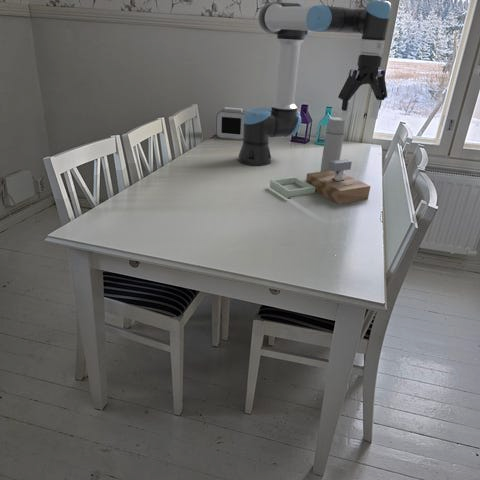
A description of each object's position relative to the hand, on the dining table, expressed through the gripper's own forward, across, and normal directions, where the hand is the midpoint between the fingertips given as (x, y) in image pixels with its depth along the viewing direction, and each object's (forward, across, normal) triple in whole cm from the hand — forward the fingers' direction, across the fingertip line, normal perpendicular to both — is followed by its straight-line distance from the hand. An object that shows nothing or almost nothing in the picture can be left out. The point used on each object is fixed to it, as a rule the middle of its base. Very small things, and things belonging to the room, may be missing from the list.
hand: (359, 119), depth 149 cm
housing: (+28, -5, 0) cm, 28 cm away
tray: (+28, -19, +9) cm, 35 cm away
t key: (+27, -5, 0) cm, 28 cm away
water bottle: (+28, +4, +16) cm, 33 cm away
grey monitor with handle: (+28, -3, +94) cm, 98 cm away
